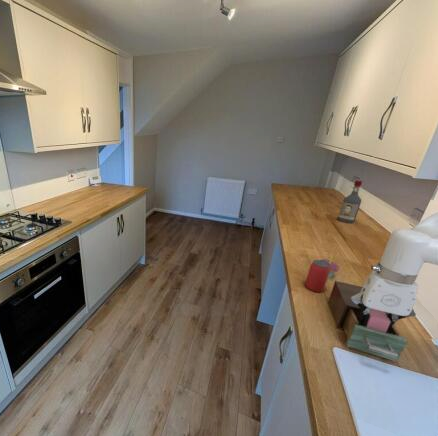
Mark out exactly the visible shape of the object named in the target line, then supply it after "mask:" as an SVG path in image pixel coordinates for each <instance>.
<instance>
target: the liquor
mask: <svg viewBox="0 0 438 436" xmlns="http://www.w3.org/2000/svg"><path fill="white" fill-rule="evenodd" d="M362 183H363V181H362V180H355V182H354V184H353V189H352V192H351V193H350V194H349V195H348V196H346V197H344V199H343V200H342V203H341V207H340V210H339V213H338V216H337V221H338V222H341V221H342V222H341V223H345V222H346V223H345V224H353V223H354V222H355V221H356V218H357V215H358V212H359V210H360V207H361V204H362V198H361V197H360V195H359V191H360V188H361V186H362Z"/></svg>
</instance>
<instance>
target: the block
mask: <svg viewBox="0 0 438 436" xmlns="http://www.w3.org/2000/svg"><path fill="white" fill-rule="evenodd" d="M369 316H370V317H369V319H368V321H367V324H366V325H365V327H368V328H371V329H375V330H379V331H382V332H386V331H387V329H388V327H389V325H390V322H391V321H390V320H389V318H388V316H387V315H386V313H385V312H383V311H379V310H375V309H372V310H371V311H370V313H369Z"/></svg>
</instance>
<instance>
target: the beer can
mask: <svg viewBox="0 0 438 436" xmlns="http://www.w3.org/2000/svg"><path fill="white" fill-rule="evenodd" d="M322 260H323V259H313V261H312V262H311V264H310V265H309V269H308V272H307V276H306V278H305V283H304V285H305V287H306V288H307V289H308V290H310V291H311V292H315V293H321V292H324V290H325V287H326V284H327V282H328V279H329V278H328V275H329V272H330V265H329V264H328V263H327V262H325V261H322Z"/></svg>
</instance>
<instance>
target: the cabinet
mask: <svg viewBox="0 0 438 436" xmlns="http://www.w3.org/2000/svg"><path fill="white" fill-rule="evenodd" d="M362 288H363V286H361V285H356V284H351V283H346V282H343V281H337V280H335V281H334V283H333V287H332V289H331V292H330V295H329V298H328V300H327V302H328V305H329V308H330V311H331V315H332V318H333V320H334V323H335V326H336V328H337V329H340V330H344V328H343V325H342V322H343V319H344V316H345V314H346V311H347V309H348V308H352V309H356V310H360V311H361V309H360V308H359V307H358V305H356V304H355V303H354V302H353V301H352V300H351V297H352V296H354V295H356V294H358V293H360V292H361V290H362ZM359 301H361V302H362V299H361V300H359ZM362 303H363V302H362ZM385 313H386V314H388V313H387V312H385ZM393 324H394V325H395V324H396V322H394V323H393Z"/></svg>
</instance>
